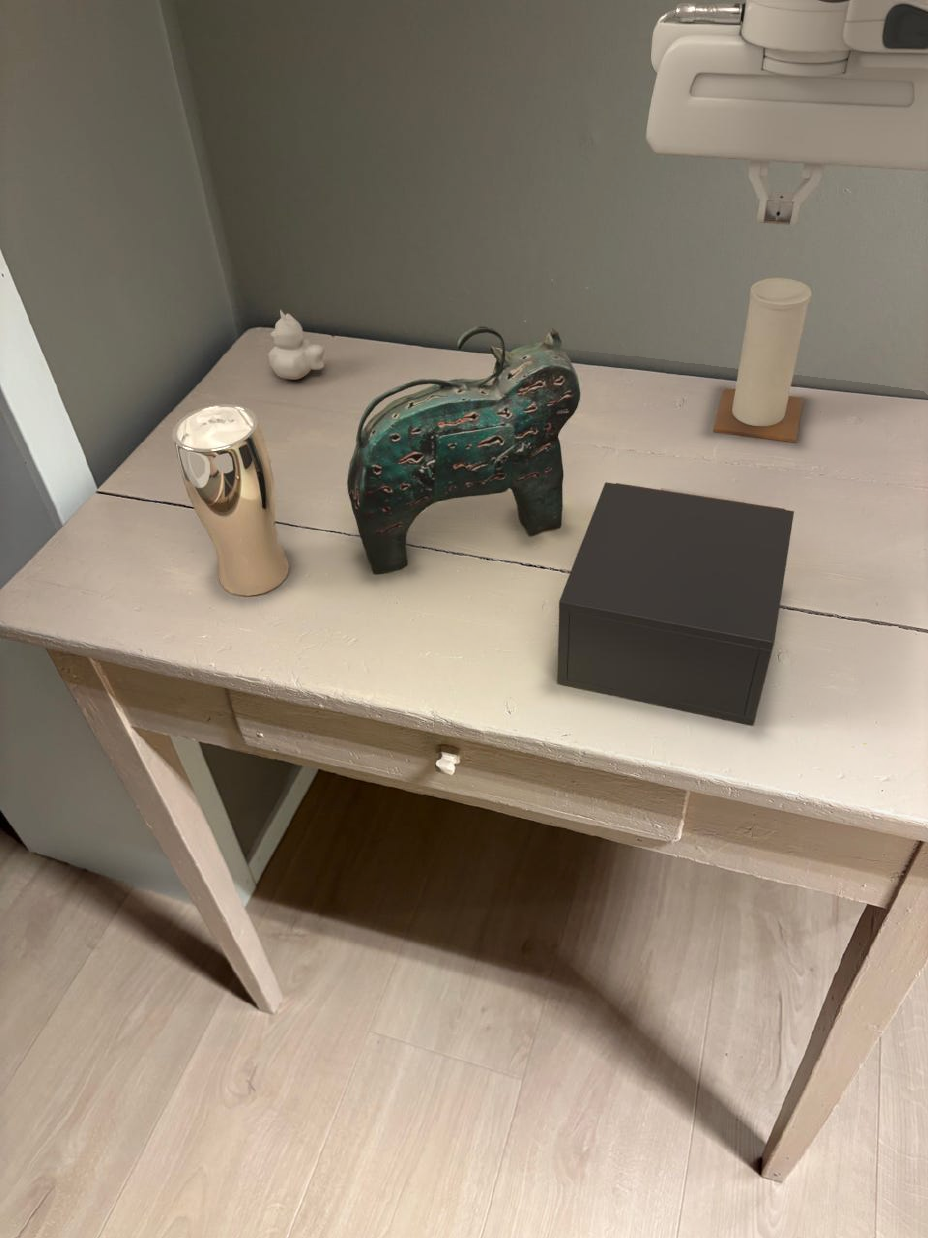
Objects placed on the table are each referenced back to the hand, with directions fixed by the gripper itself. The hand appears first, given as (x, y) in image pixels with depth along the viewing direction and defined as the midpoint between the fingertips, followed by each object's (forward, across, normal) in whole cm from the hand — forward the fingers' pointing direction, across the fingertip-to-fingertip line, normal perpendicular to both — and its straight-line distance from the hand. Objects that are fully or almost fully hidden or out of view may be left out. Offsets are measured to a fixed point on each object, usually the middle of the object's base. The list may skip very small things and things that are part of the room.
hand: (777, 221), depth 71 cm
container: (+25, +1, +14) cm, 28 cm away
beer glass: (+25, -38, -22) cm, 51 cm away
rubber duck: (+25, -49, +10) cm, 56 cm away
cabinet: (+25, -2, -20) cm, 32 cm away
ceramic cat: (+25, -21, -13) cm, 35 cm away
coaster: (+25, +1, +14) cm, 29 cm away
